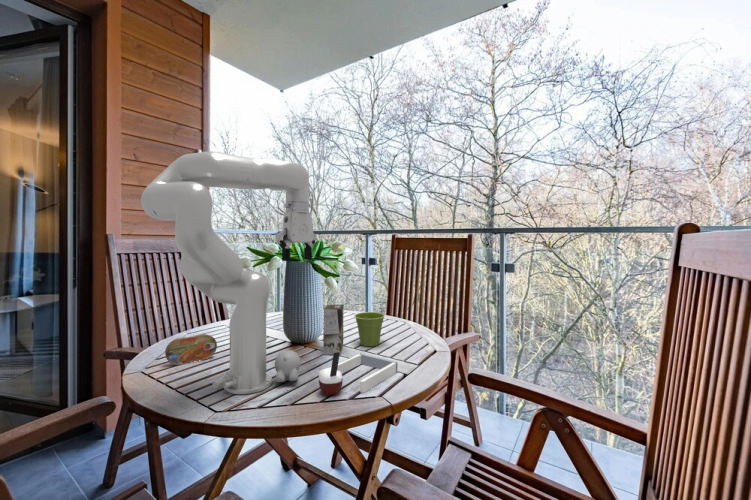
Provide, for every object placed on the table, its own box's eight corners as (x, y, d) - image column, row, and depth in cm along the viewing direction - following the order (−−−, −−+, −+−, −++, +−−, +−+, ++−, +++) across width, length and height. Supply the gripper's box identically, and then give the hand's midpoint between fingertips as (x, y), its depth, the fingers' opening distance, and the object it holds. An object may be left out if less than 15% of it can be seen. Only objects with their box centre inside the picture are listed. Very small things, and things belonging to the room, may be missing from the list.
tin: (166, 368, 109) (165, 341, 109) (164, 365, 112) (164, 339, 111) (217, 357, 119) (217, 333, 118) (214, 355, 121) (214, 331, 121)
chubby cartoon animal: (301, 381, 106) (302, 352, 109) (299, 381, 95) (300, 348, 98) (276, 382, 105) (278, 352, 108) (272, 382, 94) (274, 349, 97)
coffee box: (341, 355, 122) (341, 309, 122) (322, 354, 122) (322, 309, 122) (343, 347, 131) (344, 304, 131) (326, 346, 132) (326, 304, 131)
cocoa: (320, 387, 97) (319, 344, 97) (343, 386, 97) (342, 342, 97) (317, 402, 87) (315, 353, 87) (342, 400, 88) (340, 352, 88)
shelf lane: (363, 393, 93) (363, 381, 92) (323, 380, 100) (323, 370, 100) (397, 371, 107) (397, 362, 107) (360, 362, 115) (360, 353, 115)
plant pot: (360, 338, 143) (361, 311, 142) (388, 341, 139) (388, 313, 138) (349, 346, 132) (349, 317, 131) (379, 350, 128) (379, 319, 127)
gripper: (284, 206, 106) (285, 262, 107) (323, 209, 121) (323, 259, 121) (268, 207, 111) (268, 261, 111) (308, 210, 125) (308, 258, 126)
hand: (297, 260), depth 116 cm, fingers open, 9 cm apart
